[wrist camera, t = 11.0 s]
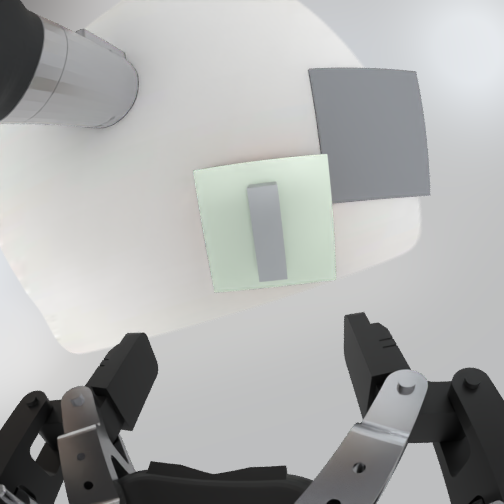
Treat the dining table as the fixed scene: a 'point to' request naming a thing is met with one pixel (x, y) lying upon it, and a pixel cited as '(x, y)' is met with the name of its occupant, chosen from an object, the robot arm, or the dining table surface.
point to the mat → (371, 132)
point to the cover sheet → (295, 221)
